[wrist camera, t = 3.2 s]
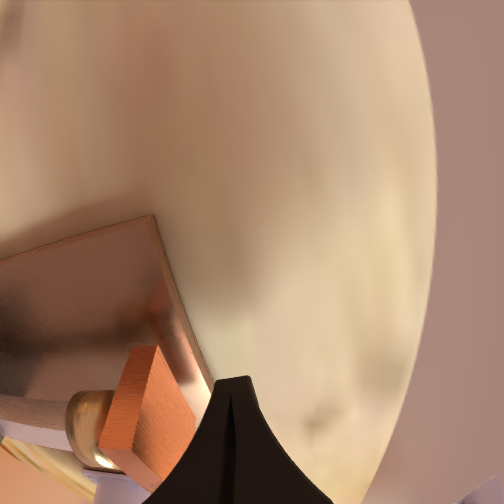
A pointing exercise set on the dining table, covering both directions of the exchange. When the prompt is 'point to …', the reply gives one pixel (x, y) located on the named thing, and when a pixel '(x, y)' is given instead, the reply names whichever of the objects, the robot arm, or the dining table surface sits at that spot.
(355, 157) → the dining table surface
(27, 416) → the shaft
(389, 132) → the dining table surface
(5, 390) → the bearing base
